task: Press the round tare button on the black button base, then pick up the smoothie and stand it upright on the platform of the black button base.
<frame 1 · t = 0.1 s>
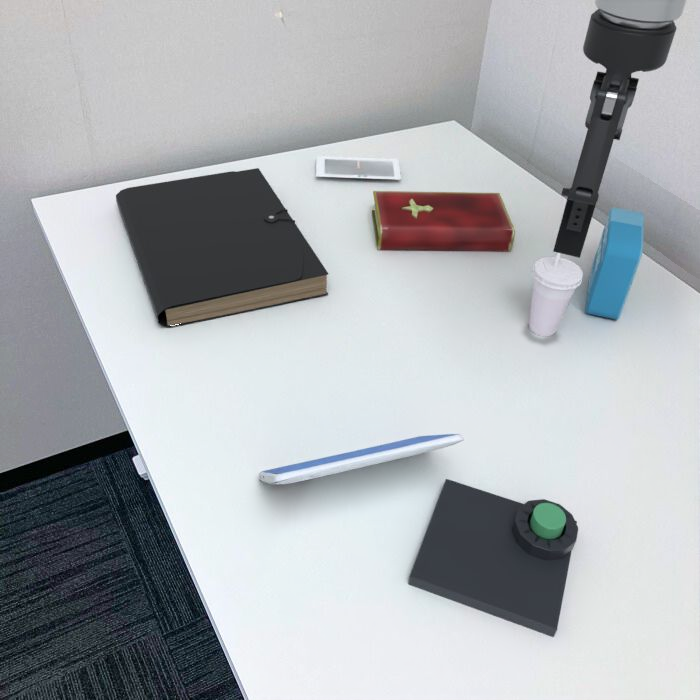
hand: (576, 221, 81), 23 cm above the table, tool pointing down, fingers open, 13 cm apart
tablet: (359, 466, 77), point 4 cm above the table
data package: (602, 298, 110), on the table
black button base: (494, 555, 75), on the table
black photo album: (216, 250, 114), on the table
tare button: (547, 520, 74), point 4 cm above the table, slide at 0.1 cm
smoothie: (542, 328, 103), on the table
white picture frame: (357, 174, 135), on the table
hardcover book: (438, 232, 121), on the table
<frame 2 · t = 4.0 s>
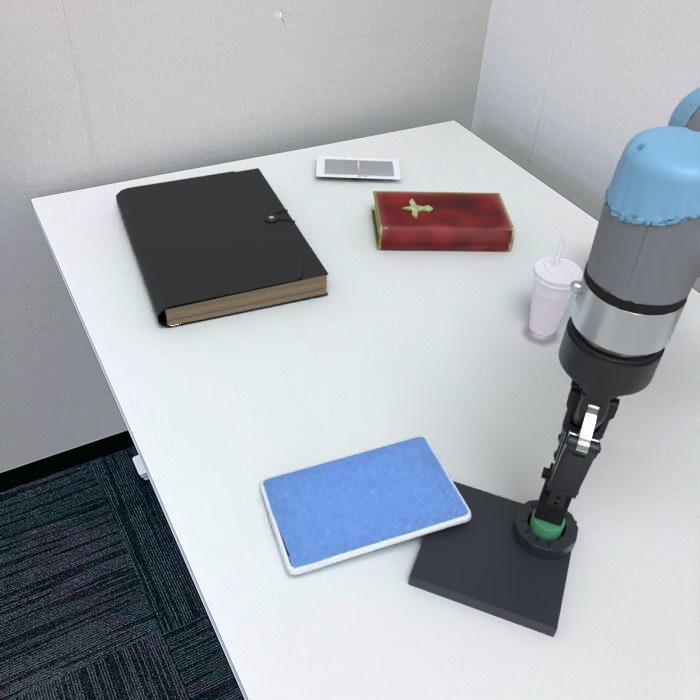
hand: (548, 515, 73), 4 cm above the table, tool pointing down, fingers closed
tablet: (362, 505, 78), point 1 cm above the table, touching black button base
tare button: (547, 522, 74), point 3 cm above the table, slide at -0.2 cm, touching gripper
everything else where it was.
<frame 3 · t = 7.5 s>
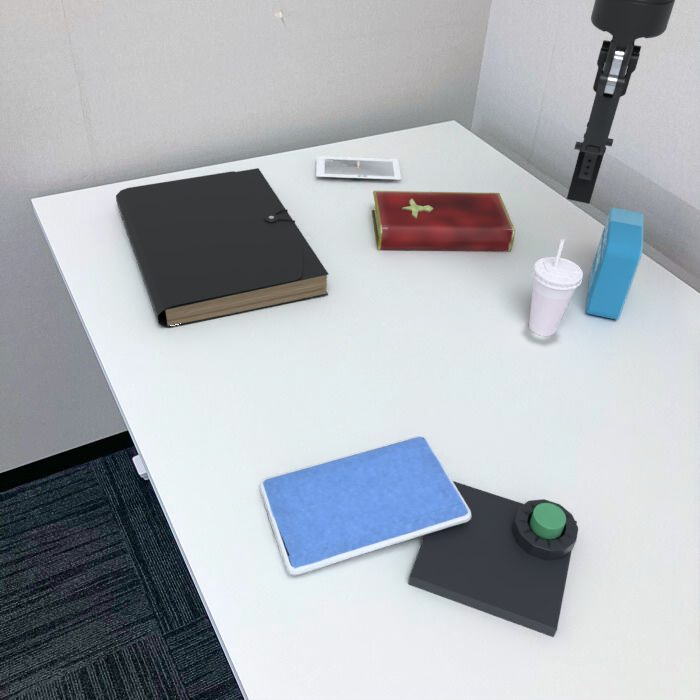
hand: (578, 198, 89), 20 cm above the table, tool pointing down, fingers closed
tare button: (547, 520, 74), point 4 cm above the table, slide at 0.1 cm
everything else where it was.
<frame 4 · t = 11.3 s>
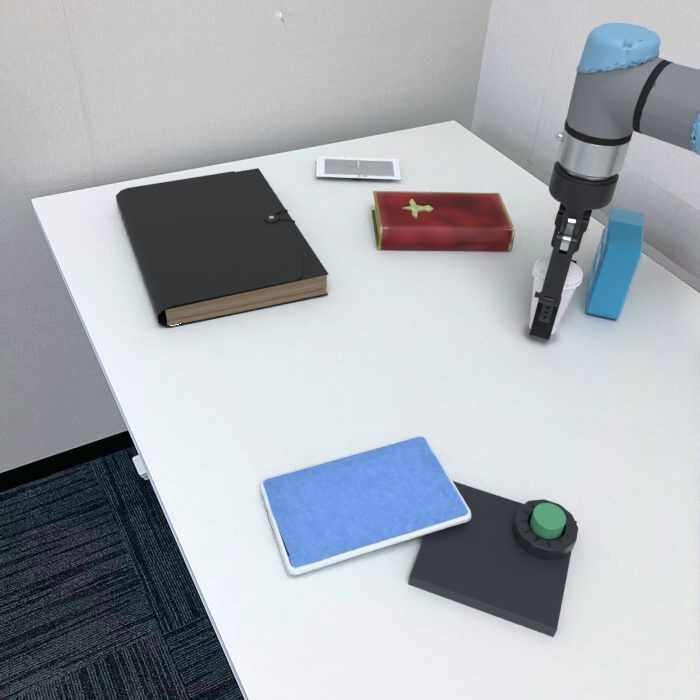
hand: (544, 320, 102), 1 cm above the table, tool pointing down, fingers closed on smoothie, 6 cm apart
smoothie: (542, 328, 103), on the table, touching gripper
everything else where it was.
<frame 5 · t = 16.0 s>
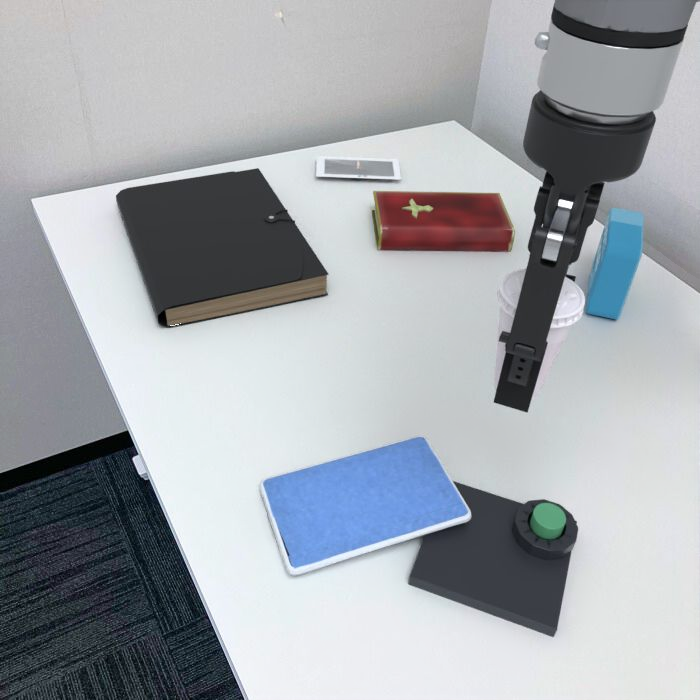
hand: (520, 376, 61), 23 cm above the table, tool pointing down, fingers closed on smoothie, 6 cm apart
smoothie: (516, 388, 62), point 22 cm above the table, touching gripper
everything else where it was.
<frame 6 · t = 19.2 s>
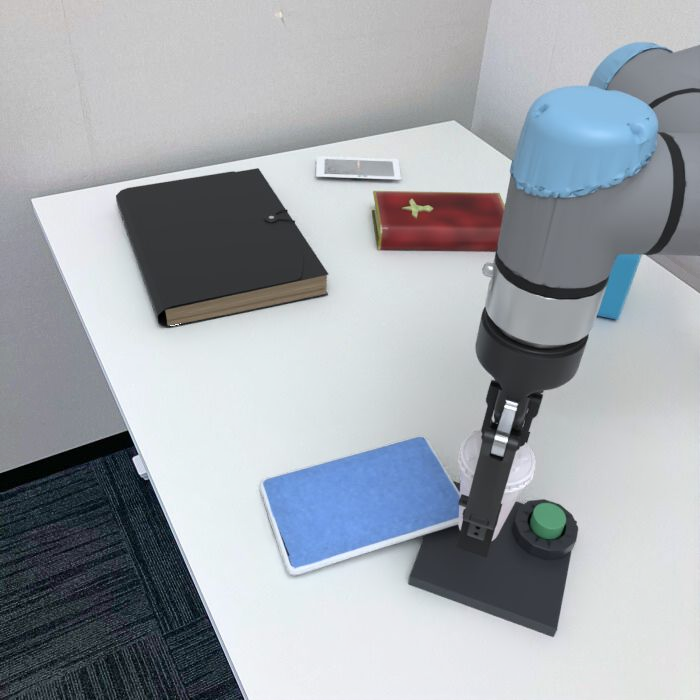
hand: (481, 518, 67), 9 cm above the table, tool pointing down, fingers closed on smoothie, 6 cm apart
smoothie: (478, 527, 68), point 7 cm above the table, touching gripper
everything else where it was.
when the fingers open (3 cm above the table, at t = 21.2 s): smoothie stays where it is, resting on black button base.
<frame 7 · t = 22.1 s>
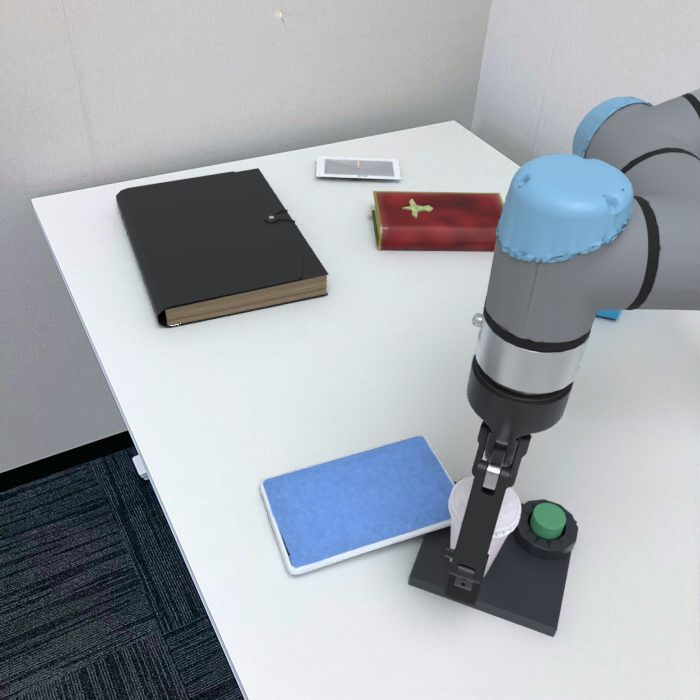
hand: (479, 535, 69), 6 cm above the table, tool pointing down, fingers open, 13 cm apart
smoothie: (468, 565, 72), point 1 cm above the table, touching black button base
everything else where it was.
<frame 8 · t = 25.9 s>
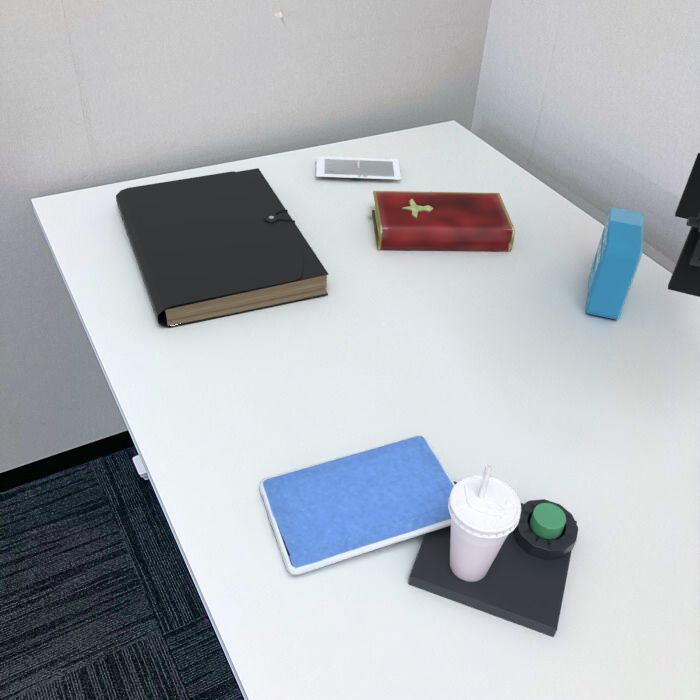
hand: (686, 252, 70), 27 cm above the table, tool pointing down, fingers open, 13 cm apart
nothing on the table moved.
at the end: tare button pushed in 0.8 cm at the most during the clip, back to where it started at the end; smoothie inside the target area on the black button base (1.3 cm from its centre), point 1.2 cm above the black button base's base; smoothie touching black button base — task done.
